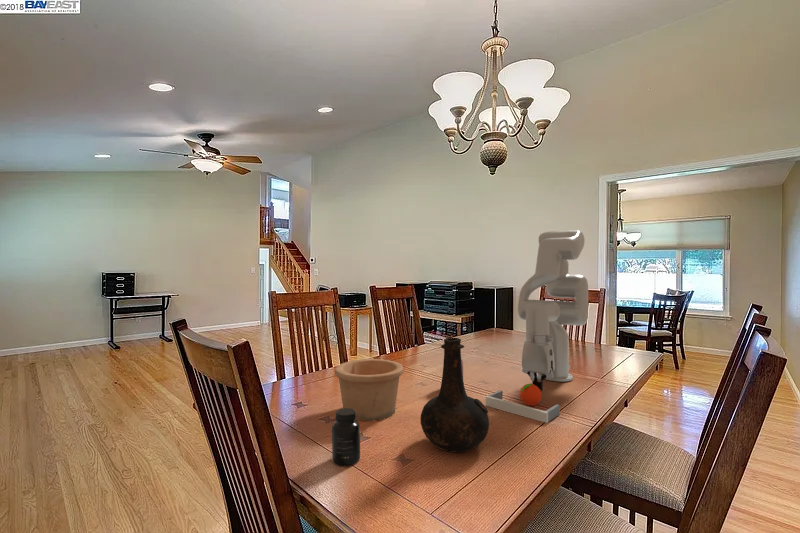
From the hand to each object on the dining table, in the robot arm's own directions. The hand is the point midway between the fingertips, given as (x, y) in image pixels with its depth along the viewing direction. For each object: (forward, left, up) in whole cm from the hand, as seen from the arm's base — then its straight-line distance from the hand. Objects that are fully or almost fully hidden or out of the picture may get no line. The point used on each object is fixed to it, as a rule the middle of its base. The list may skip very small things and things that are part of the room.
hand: (537, 392), depth 138 cm
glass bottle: (+46, -1, -3) cm, 46 cm away
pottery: (+46, -35, -3) cm, 58 cm away
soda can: (+9, -29, -3) cm, 30 cm away
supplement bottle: (+71, -15, -3) cm, 72 cm away
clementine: (+6, 0, -3) cm, 7 cm away
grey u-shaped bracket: (+11, 0, -3) cm, 12 cm away
